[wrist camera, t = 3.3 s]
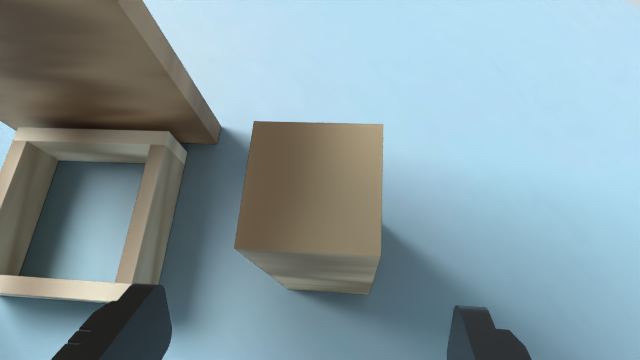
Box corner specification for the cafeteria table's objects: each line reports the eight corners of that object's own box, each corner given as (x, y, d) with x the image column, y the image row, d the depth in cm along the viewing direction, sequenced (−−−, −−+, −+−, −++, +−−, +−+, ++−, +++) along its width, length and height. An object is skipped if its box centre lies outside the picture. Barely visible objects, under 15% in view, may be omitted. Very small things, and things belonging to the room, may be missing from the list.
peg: (371, 215, 21) (383, 124, 12) (369, 294, 19) (380, 256, 10) (295, 212, 21) (254, 121, 12) (288, 289, 20) (234, 247, 11)
